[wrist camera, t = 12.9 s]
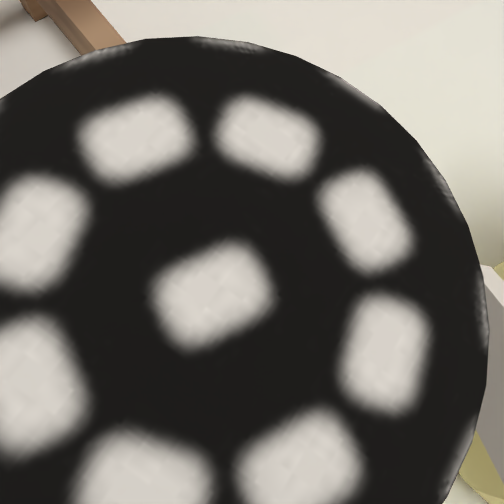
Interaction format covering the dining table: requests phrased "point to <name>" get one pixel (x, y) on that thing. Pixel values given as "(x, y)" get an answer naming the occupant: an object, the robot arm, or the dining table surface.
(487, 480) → the slatted curved stool
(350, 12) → the dining table surface
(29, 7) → the square frame stand
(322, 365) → the spotted tube
